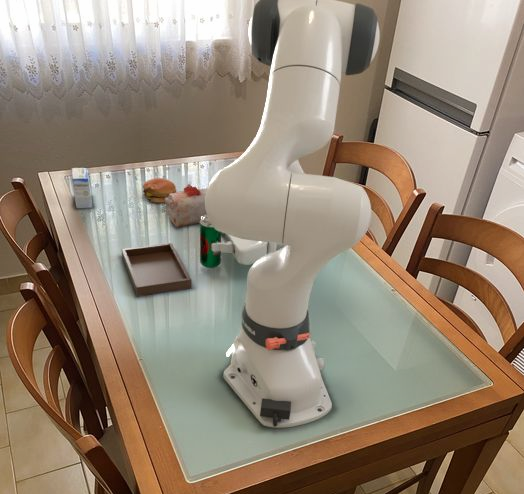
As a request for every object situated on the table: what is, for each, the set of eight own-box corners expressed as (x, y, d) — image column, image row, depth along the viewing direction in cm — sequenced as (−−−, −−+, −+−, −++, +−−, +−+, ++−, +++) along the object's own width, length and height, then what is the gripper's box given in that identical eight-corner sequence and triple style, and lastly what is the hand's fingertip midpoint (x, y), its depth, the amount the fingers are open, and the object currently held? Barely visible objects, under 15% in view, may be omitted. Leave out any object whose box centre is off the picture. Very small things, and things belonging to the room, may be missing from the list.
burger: (178, 191, 163) (178, 176, 160) (173, 204, 156) (173, 189, 153) (146, 189, 163) (145, 174, 160) (140, 202, 156) (138, 186, 153)
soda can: (217, 270, 127) (218, 224, 119) (197, 267, 127) (196, 221, 120) (223, 260, 131) (224, 215, 123) (203, 257, 131) (203, 211, 124)
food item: (173, 230, 144) (172, 196, 138) (164, 217, 149) (162, 184, 143) (220, 223, 149) (221, 189, 143) (209, 211, 155) (209, 178, 148)
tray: (191, 288, 123) (191, 279, 122) (137, 296, 119) (136, 287, 118) (172, 251, 135) (171, 242, 134) (122, 257, 131) (121, 249, 130)
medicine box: (75, 197, 155) (70, 167, 149) (91, 196, 156) (87, 167, 151) (76, 208, 149) (71, 179, 144) (92, 207, 151) (88, 178, 145)
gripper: (247, 203, 134) (194, 208, 130) (279, 241, 120) (221, 248, 116) (245, 226, 138) (194, 232, 134) (276, 265, 124) (220, 273, 120)
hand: (206, 240), depth 125 cm, fingers closed on soda can, 5 cm apart
